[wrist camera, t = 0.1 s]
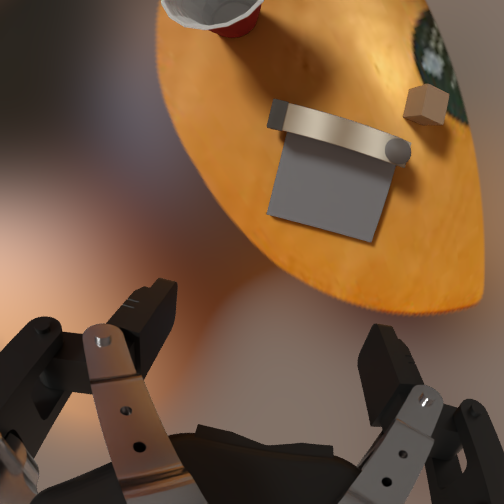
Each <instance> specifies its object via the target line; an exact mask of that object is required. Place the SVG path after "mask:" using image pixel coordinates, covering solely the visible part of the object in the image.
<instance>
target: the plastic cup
mask: <svg viewBox="0 0 504 504" xmlns="http://www.w3.org/2000/svg"><path fill="white" fill-rule="evenodd" d="M263 1H264V0H161V4H162V6H163V8H164V9H165V11H166V13H167V14H168V16H169V18H171V19H172V20H174V21H176V22H177V23H179V24H181V25H182V26H184V27H188V28H195V29H201V30H209V31H212V32H214V33H217V34H219V35H220V36H224V37H228V38H235V37H241V36H243V35H245V34H247V33H249V32H250V31H251V30H252V29H253V28H254V27H255V24H256V22H257V19H258V15H259V13H260V9H261V4H262V3H263Z"/></svg>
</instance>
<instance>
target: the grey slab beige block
mask: <svg viewBox="0 0 504 504" xmlns="http://www.w3.org/2000/svg"><path fill="white" fill-rule="evenodd" d="M448 99H449V94H448V93H446V92H444V91H442V90H440V89H438V88H436V87H434V86H432V85H430V84H425V85H422V86H418V87H415V88H412V89H409V92H408V97H407V101H406V106H405V110H404V114H403V117H404V118H407V119H409V120H411V121H414V122H416V123H419V124H421V125H443V123H444V119H445V114H446V109H447V104H448ZM294 105H296V104H294ZM298 106H299V105H298ZM302 107H303V106H302ZM306 108H307V107H306ZM309 109H311V108H309ZM313 110H314V109H313ZM317 111H318V110H317ZM320 112H322V111H320ZM324 113H325V112H324ZM327 114H328V113H327ZM331 115H332V114H331ZM334 116H335V115H334ZM337 117H338V116H337ZM341 118H342V117H341ZM344 119H345V118H344ZM347 120H348V119H347ZM350 121H351V120H350ZM353 122H354V121H353ZM356 123H357V122H356ZM359 124H360V123H359ZM362 125H363V124H362ZM365 126H366V125H365ZM368 127H369V126H368ZM371 128H372V127H371ZM374 129H375V128H374ZM377 130H378V129H377ZM379 131H380V130H379ZM382 132H383V131H382ZM385 133H386V132H385ZM387 134H388V133H387ZM390 135H391V134H390ZM393 136H394V135H393ZM395 137H396V136H395ZM398 138H399V137H398ZM395 167H396V165H394V164H391V163H388V162H386V161H383V160H380V159H377V158H374V157H371V156H368V155H365V154H362V153H359V152H356V151H353V150H350V149H347V148H344V147H340V146H337V145H334V144H330V143H327V142H324V141H320V140H317V139H313V138H309V137H306V136H302V135H298V134H294V133H290V132H287V135H286V139H285V143H284V147H283V151H282V155H281V159H280V163H279V167H278V171H277V175H276V179H275V183H274V187H273V191H272V195H271V199H270V203H269V207H268V211H267V215H271V216H275V217H279V218H283V219H287V220H291V221H295V222H298V223H302V224H306V225H310V226H313V227H317V228H321V229H325V230H328V231H332V232H336V233H339V234H343V235H346V236H350V237H353V238H357V239H360V240H364V241H367V242H372V239H373V236H374V233H375V230H376V227H377V224H378V221H379V218H380V215H381V212H382V209H383V206H384V203H385V200H386V197H387V194H388V191H389V187H390V184H391V181H392V177H393V174H394V170H395Z"/></svg>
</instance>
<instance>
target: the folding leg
mask: <svg viewBox="0 0 504 504" xmlns="http://www.w3.org/2000/svg"><path fill="white" fill-rule="evenodd" d="M267 128H271V129H275V130H279V131H282V130H283V131H287V132H290V133H294V134H298V135H302V136H306V137H309V138H313V139H317V140H320V141H324V142H327V143H330V144H334V145H337V146H340V147H344V148H347V149H350V150H353V151H356V152H359V153H362V154H365V155H368V156H371V157H374V158H377V159H380V160H383V161H386V162H388V163H391V164H394V165H397V166H400V167H403V168H405V165H406V162H407V161H408V160H409V159H410V156H411V148H410V147H411V142H408V141H406V140H403V139H401V138H398V137H395V136H393V135H390V134H387V133H385V132H382V131H379V130H377V129H374V128H371V127H368V126H365V125H362V124H359V123H356V122H353V121H350V120H347V119H344V118H341V117H337V116H334V115H331V114H327V113H324V112H320V111H317V110H313V109H309V108H306V107H302V106H298V105H294V104H290V103H289V102H286V101H282V100H278V99H273V103H272V107H271V111H270V115H269V119H268V123H267Z"/></svg>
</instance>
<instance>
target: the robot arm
mask: <svg viewBox="0 0 504 504" xmlns="http://www.w3.org/2000/svg"><path fill="white" fill-rule="evenodd" d="M177 287H178V286H177V282H175V281H170V280H166V279H162V278H158V279H157V280H156V282H155V283H154V284H153V285H152V286H151V287H150V288H148V287H142V288H140V289H138V290H135V291H134V292H133V293H132V294H131V295H130V296H129V298H128V300H126V301H125V302H124V303H123V305H122V306H121V307H120V308H119V309H118V310H117V311H116V312H115V314H114V315H113V316H112V317H111V318H110V320H109V321H108V322H107V323H106V324H96V325H93V326H90V327H89V328H87V329H86V330H85V331H84V333H83V334H77V333H70V332H62V327H61V324H60V322H59V321H58V320H56V319H54V318H52V317H38V318H35V319H33V320H31V321H30V322H29V323H27V325H25V327H24V328H23V329H22V330H21V331H20V332H19V333H18V334H17V335H16V336H15V337H14V338H13V339H12V340H11V341H10V342H9V343H8V344H7V345H6V346H5V348H4V349H3V350H2V351H1V352H0V504H404V503H405V501H406V499H407V497H408V496H409V494H410V492H411V490H412V488H413V486H414V484H415V482H416V480H417V478H418V476H419V474H420V472H421V470H422V468H423V466H424V464H425V468H426V473H427V478H428V484H429V490H430V495H431V501H432V504H504V452H503V449H502V446H501V444H500V441H499V439H498V436H497V434H496V432H495V429H494V427H493V424H492V422H491V420H490V417H489V415H488V413H487V411H486V409H485V408H484V406H483V405H482V404H481V403H479V402H478V401H476V400H473V399H466V400H464V401H463V402H462V403H461V404H460V406H459V407H458V408H457V407H453V406H450V405H446V404H443V399H442V397H441V395H440V394H439V393H438V392H437V391H436V390H435V389H433V388H432V387H430V386H427V385H424V383H423V380H422V378H421V376H420V373H419V371H418V369H417V366H416V364H415V362H414V360H413V358H412V356H411V353H410V351H409V349H408V347H407V346H406V345H405V344H404V343H403V342H402V341H401V340H400V339H398V338H397V336H396V334H395V331H394V329H393V327H392V326H388V325H381V324H374V325H373V326H372V327H371V330H370V332H369V334H368V336H367V338H366V340H365V343H364V345H363V347H362V349H361V351H360V353H359V357H358V370H359V374H360V379H361V383H362V387H363V392H364V397H365V401H366V406H367V410H368V415H369V420H370V425H371V426H374V427H382V432H381V433H380V434H379V435H378V437H377V438H376V440H375V441H374V443H373V444H372V446H371V447H370V449H369V450H368V451H367V453H366V454H365V455H364V457H363V458H362V459H361V461H360V462H359V464H358V465H357V466H355V465H353V464H352V463H350V462H348V461H347V460H345V459H343V458H340V457H338V456H334V455H333V446H330V445H316V444H307V443H295V444H283V445H264V444H261V443H258V442H256V441H253V440H250V439H248V438H245V437H243V436H240V435H238V434H236V433H233V432H230V431H225V430H221V429H216V428H212V427H207V426H203V425H200V424H198V426H197V429H196V432H195V433H179V434H173V435H169V436H168V435H167V433H166V431H165V429H164V427H163V424H162V422H161V420H160V418H159V415H158V413H157V411H156V409H155V407H154V404H153V402H152V400H151V397H150V394H149V392H148V390H147V387H146V385H145V382H144V379H145V377H146V375H147V373H148V371H149V370H150V368H151V366H152V364H153V362H154V360H155V358H156V357H157V355H158V353H159V351H160V349H161V348H162V346H163V344H164V342H165V340H166V338H167V337H168V335H169V333H170V331H171V329H172V327H173V324H174V320H175V314H176V300H177ZM72 392H77V393H86V394H93V398H94V402H95V405H96V410H97V414H98V418H99V421H100V425H101V428H102V432H103V436H104V439H105V443H106V446H107V449H108V452H109V455H110V458H111V461H112V462H110V463H108V464H106V465H103V466H101V467H99V468H96V469H94V470H92V471H90V472H87V473H85V474H82V475H80V476H78V477H76V478H73V479H70V480H68V481H65V482H63V483H60V484H57V485H54V486H52V487H49V488H47V489H45V490H43V491H41V492H40V493H38V492H37V482H38V479H39V468H38V465H37V463H36V462H35V460H34V457H35V456H36V454H37V452H38V450H39V448H40V447H41V445H42V443H43V441H44V439H45V438H46V436H47V434H48V432H49V430H50V429H51V427H52V425H53V424H54V422H55V420H56V418H57V417H58V415H59V413H60V412H61V410H62V408H63V407H64V405H65V403H66V402H67V400H68V398H69V397H70V395H71V393H72ZM462 448H463V449H464V453H465V456H466V459H467V467H466V469H465V471H464V473H463V474H462V471H461V467H460V464H459V460H458V457H457V453H459V452H460V450H461V449H462Z"/></svg>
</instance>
